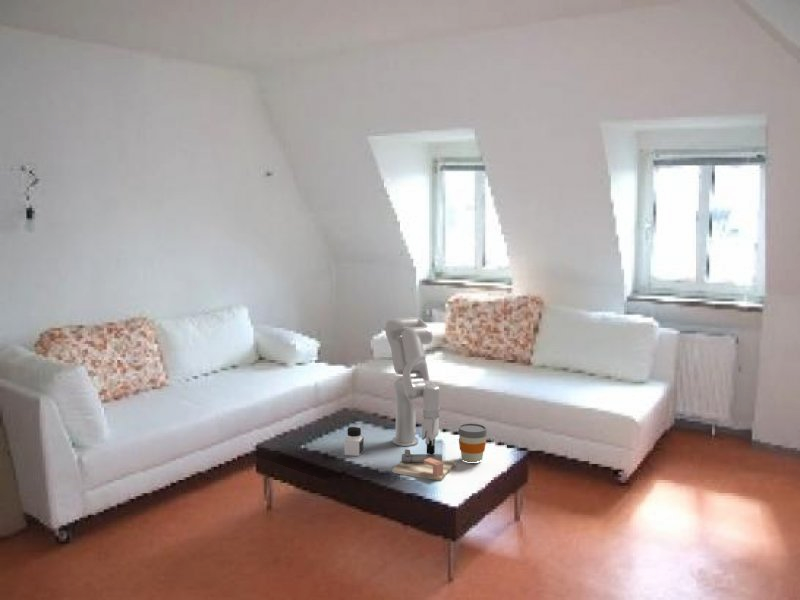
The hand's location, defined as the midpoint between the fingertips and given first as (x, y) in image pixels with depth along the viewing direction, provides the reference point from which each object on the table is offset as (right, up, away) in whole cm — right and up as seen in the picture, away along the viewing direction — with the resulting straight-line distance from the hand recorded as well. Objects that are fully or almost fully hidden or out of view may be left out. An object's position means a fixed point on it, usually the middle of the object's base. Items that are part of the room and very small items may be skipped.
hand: (430, 453), depth 291 cm
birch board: (-3, -5, -9) cm, 11 cm away
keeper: (0, -4, -17) cm, 18 cm away
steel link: (-4, -2, -6) cm, 7 cm away
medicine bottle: (-35, -2, +9) cm, 36 cm away
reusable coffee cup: (+18, -4, +1) cm, 19 cm away
